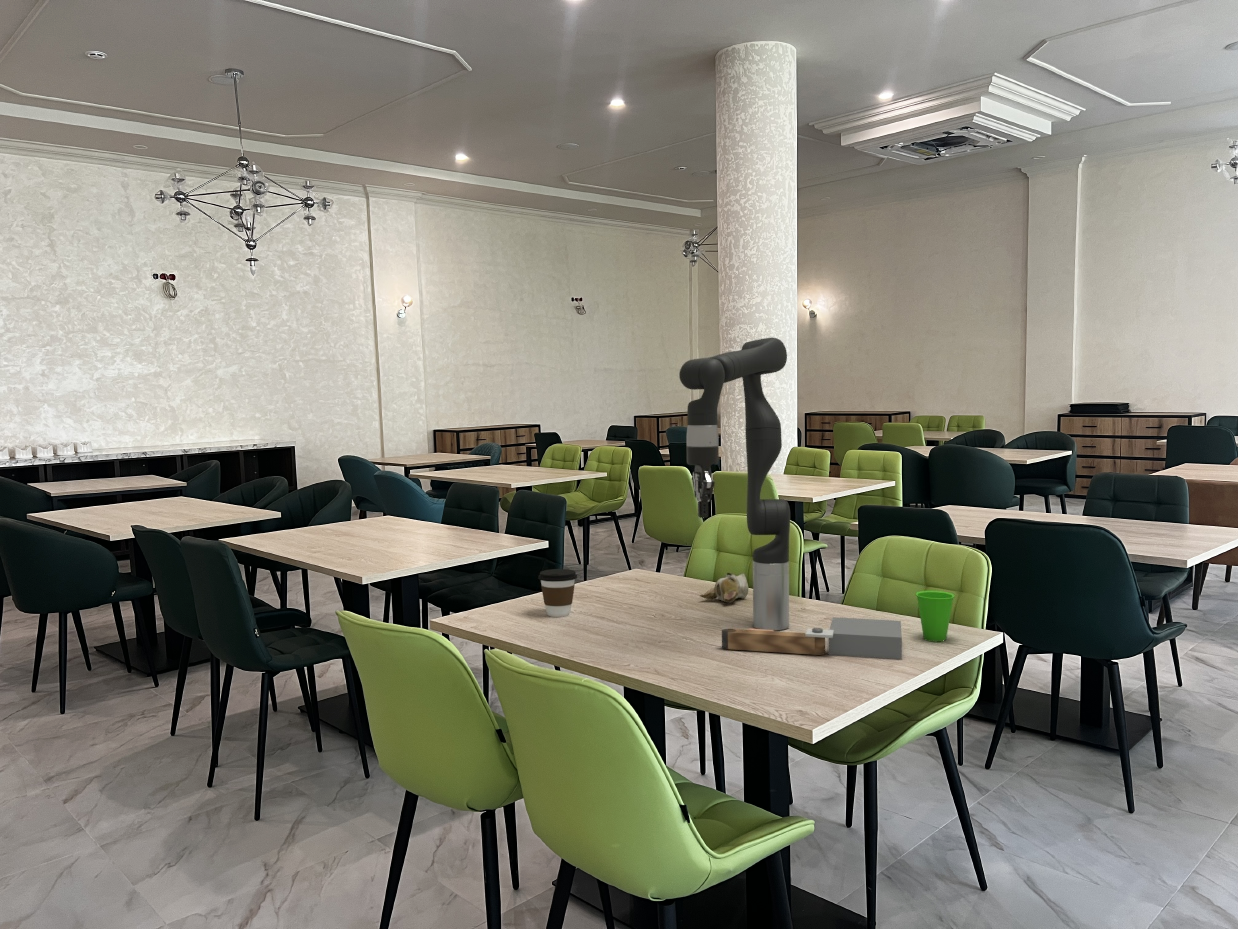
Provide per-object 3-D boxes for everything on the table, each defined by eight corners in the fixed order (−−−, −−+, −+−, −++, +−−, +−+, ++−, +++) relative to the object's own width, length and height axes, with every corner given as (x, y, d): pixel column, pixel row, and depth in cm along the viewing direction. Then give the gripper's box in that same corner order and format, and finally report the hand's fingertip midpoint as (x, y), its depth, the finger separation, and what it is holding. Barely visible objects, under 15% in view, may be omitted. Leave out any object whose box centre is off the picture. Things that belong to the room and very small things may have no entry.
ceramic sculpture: (757, 570, 261) (725, 580, 251) (759, 599, 262) (726, 610, 252) (730, 566, 269) (697, 576, 259) (731, 594, 270) (698, 605, 260)
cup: (952, 635, 218) (953, 591, 218) (956, 645, 210) (956, 599, 209) (914, 633, 221) (914, 590, 220) (916, 642, 212) (916, 597, 211)
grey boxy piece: (755, 632, 224) (755, 610, 223) (900, 641, 214) (900, 617, 213) (744, 652, 206) (744, 627, 206) (901, 662, 196) (901, 636, 196)
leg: (825, 651, 205) (825, 634, 205) (824, 655, 201) (824, 638, 201) (723, 644, 212) (723, 628, 211) (720, 648, 208) (720, 631, 208)
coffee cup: (573, 619, 240) (572, 576, 240) (534, 618, 242) (533, 575, 241) (581, 610, 251) (580, 568, 250) (544, 609, 253) (543, 568, 252)
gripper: (725, 445, 202) (725, 520, 204) (710, 442, 215) (711, 513, 217) (693, 446, 201) (694, 521, 203) (680, 443, 214) (681, 514, 216)
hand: (703, 517), depth 210 cm, fingers closed
